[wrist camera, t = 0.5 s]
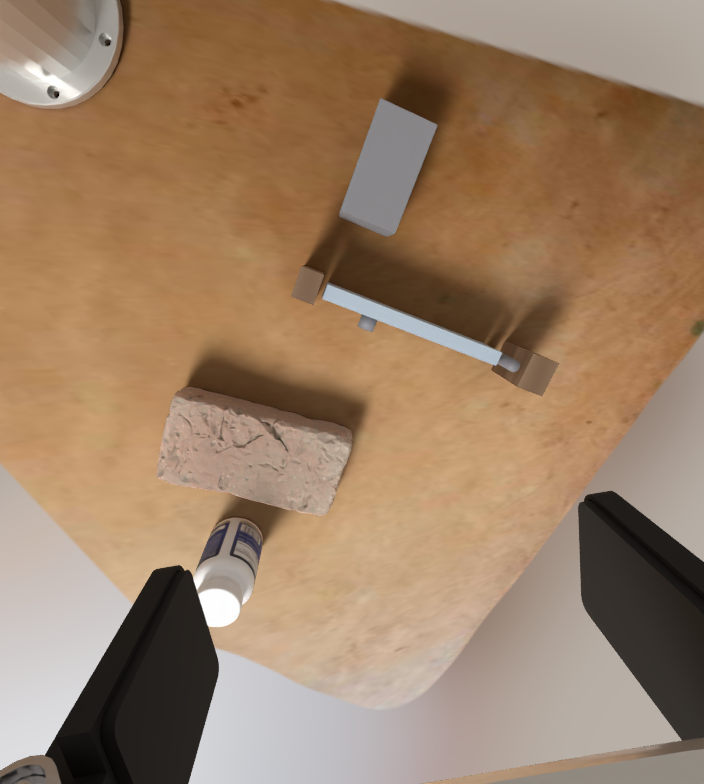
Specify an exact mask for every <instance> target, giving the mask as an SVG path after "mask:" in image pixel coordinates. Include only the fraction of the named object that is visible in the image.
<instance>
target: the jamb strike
mask: <svg viewBox="0 0 704 784" xmlns="http://www.w3.org/2000/svg"><path fill="white" fill-rule="evenodd" d="M323 277H324V273H323V272H321V271H318V270H316V269H313V268H311V267H308V266H306V265H304V266H301V269H300V272H299V275H298V278H297V281H296V284H295V287H294V289H293V292H292V295H291V297H294V298H296V299H299V300H301V301H304V302H307V303H309V304H312V305H314V302H315V299H316V296H317V294H318V291H319V288H320V285H321V282H322V280H323Z"/></svg>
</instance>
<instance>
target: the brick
mask: <svg viewBox="0 0 704 784" xmlns="http://www.w3.org/2000/svg"><path fill="white" fill-rule="evenodd" d="M169 409H170V414H169V415H168V416H167V419H166V423H165V427H164V432H163V437H162V442H161V449H160V453H159V460H158V464H157V466H158V468H157V473H156V475H157V478H159V479H161V480H164V481H167V482H168V483H170V484H173V485H179V486H185V487H190V488H198V489H205V490H214V491H217V492H229V493H231V494H233V495H235V496H238V497H242V498H245V499H249V500H252V501H256V502H261V503H265V504H268V505H271V506H276V507H280V508H283V509H287V510H296V511H297V512H300V513H311V514H314V515H316V516H321V515H325V514H326V513H328V511H329V509H330V508H331V506H332V504H333V501H334V497H335V495H336V490H337V487H338V485H339V481H340V479H341V477H342V473H343V469H344V467H345V465H346V463H347V461H348V458H349V455H350V453H351V449H352V443H353V441H352V432H351V430H350V429H348V428H346V427H345V426H340V425H337V424H336V423H332V422H327V421H323V420H317V419H309V418H306V417H304V416H301V415H299V414H296V413H293V412H285V411H281V410H278V409H276V408H274V407H269V406H265V405H261V404H256V403H252V402H250V401H247V400H243V399H239V398H234V397H231V396H227V395H223V394H220V393H214V392H210V391H205V390H202V389H200V388H194V387H184V388H183V389H181V390H180V391H178V392H177V393H176V394H175V395H174V397H173V398H172V401H171V405H170V408H169Z"/></svg>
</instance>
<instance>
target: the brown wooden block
mask: <svg viewBox="0 0 704 784" xmlns="http://www.w3.org/2000/svg"><path fill="white" fill-rule="evenodd" d="M500 352H502V353H503V354H505V355H507V356H509V357H511V358H513V359H515V360H517V361H518V362H519V363H520V368H519V369H518V370H517V371H516V372H511V371H509V370H507V369H506V368H504V367H502V366H501V365H499V364H497V365H496V366H495V365H494V366H493V368H492V371H494V372H495V373H497V374H498V375H500V376H501V377H503V378H504V379H506V380H508V381H509V382H511V383H512V384H514V385H515V386H517V387H519V388H522V389H524V390H527V391H530V392H532V393H535V394H537V395H540V396H543V394H544V392H545V390H546V388H547V386H548V384H549V382H550V380H551V378H552V376H553V374H554V372H555V370H556V368H557V366H558V364H559V363H557V362H555V361H552V360H550V359H548V358H545V357H543V356H541V355H539V354H536V353H534V352H532V351H529V350H527V349H525V348H522V347H519V346H517V345H514V344H512V343H509V342H507V341H505V343H504V345H503V347H502V349H501V351H500Z"/></svg>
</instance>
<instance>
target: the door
mask: <svg viewBox="0 0 704 784" xmlns="http://www.w3.org/2000/svg"><path fill="white" fill-rule="evenodd" d="M322 299H324V300H326V301H329V302H332V303H334V304H337V305H339V306H342V307H344V308H347V309H350V310H352V311H355V312H357V313H360V314H362V315H361V318H360V321H359V323H358V327H360V328H362V329H365V330H367V331H370V332H373V330H374V328H375V325H376V323H377V320H378V321H381V322H383V323H386V324H389V325H391V326H394V327H396V328H399V329H402V330H404V331H407V332H409V333H412V334H415V335H417V336H420V337H422V338H425V339H428V340H430V341H433V342H435V343H438V344H441V345H443V346H446V347H448V348H451V349H454V350H456V351H459V352H461V353H464V354H466V355H469V356H472V357H474V358H477V359H479V360H482V361H485V362H487V363H490V364H492V365H495V366H496V365H497V364H499V365H501V366H502V367H504V368H506V369H507V370H509V371H511V372H516V371H517V370H518V369H519V368H520V363H519V362H518V361H517V360H515V359H513V358H511V357H509V356H507V355H505V354H503V353H502V352H500V351H498V350H496V349H494V348H492V347H490V346H488V345H486V344H485V343H482V342H479V341H477V340H474V339H472V338H469V337H467V336H464V335H462V334H459V333H457V332H454V331H451V330H449V329H446V328H444V327H441V326H439V325H436V324H434V323H431V322H428V321H426V320H423V319H421V318H418V317H416V316H413V315H411V314H408V313H406V312H403V311H400V310H398V309H395V308H393V307H390V306H388V305H385V304H383V303H380V302H377V301H375V300H372V299H370V298H367V297H365V296H362V295H360V294H357V293H355V292H352V291H349V290H347V289H344V288H342V287H339V286H337V285H334V284H332V283H329V282H327V284H326V287H325V289H324V292H323V295H322Z"/></svg>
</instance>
